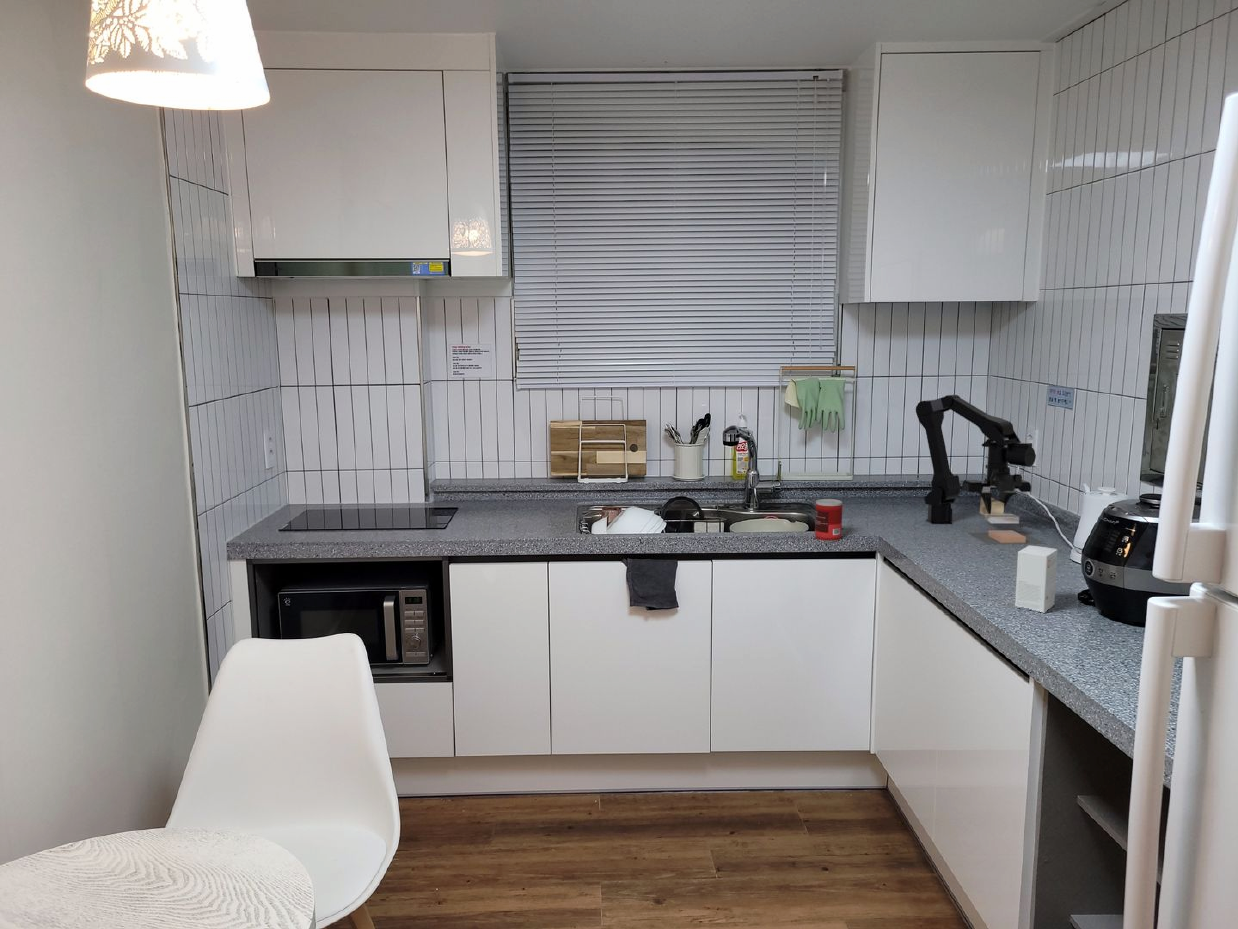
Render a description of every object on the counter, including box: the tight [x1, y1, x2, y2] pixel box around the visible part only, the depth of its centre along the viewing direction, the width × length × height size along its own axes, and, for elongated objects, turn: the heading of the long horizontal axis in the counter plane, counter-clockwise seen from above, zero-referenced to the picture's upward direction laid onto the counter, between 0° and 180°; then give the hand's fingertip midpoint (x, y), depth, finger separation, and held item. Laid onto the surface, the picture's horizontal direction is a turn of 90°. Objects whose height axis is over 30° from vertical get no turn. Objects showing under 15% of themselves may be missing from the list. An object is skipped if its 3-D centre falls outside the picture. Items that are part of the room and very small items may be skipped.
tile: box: [988, 529, 1026, 543], centre depth 267 cm, size 7×2×9 cm
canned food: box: [814, 498, 843, 541], centre depth 271 cm, size 8×8×11 cm
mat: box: [967, 531, 1047, 546], centre depth 268 cm, size 17×15×1 cm
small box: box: [1014, 544, 1058, 614], centre depth 202 cm, size 8×6×13 cm
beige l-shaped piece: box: [979, 496, 1020, 524], centre depth 275 cm, size 15×8×5 cm, turn 0°
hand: (994, 514), depth 275 cm, fingers closed on beige l-shaped piece, 3 cm apart
